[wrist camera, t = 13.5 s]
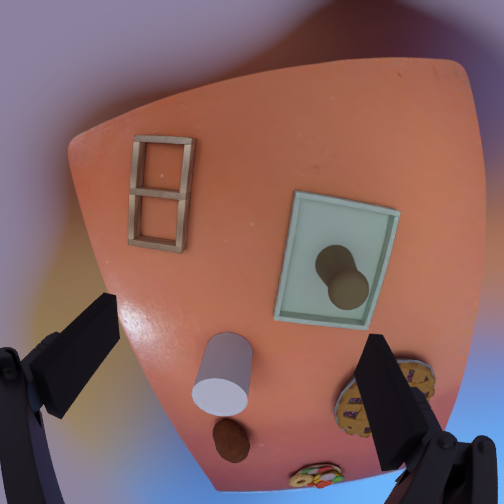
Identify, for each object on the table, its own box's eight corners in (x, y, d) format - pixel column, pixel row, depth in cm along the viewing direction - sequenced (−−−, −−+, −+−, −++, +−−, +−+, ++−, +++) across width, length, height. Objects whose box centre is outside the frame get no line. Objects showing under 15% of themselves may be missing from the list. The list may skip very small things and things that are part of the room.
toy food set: (282, 475, 64) (282, 485, 61) (317, 456, 60) (318, 466, 57) (317, 486, 66) (317, 494, 63) (351, 467, 62) (353, 476, 59)
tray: (294, 189, 42) (296, 191, 40) (394, 208, 42) (400, 211, 39) (273, 311, 48) (273, 320, 46) (363, 322, 48) (367, 330, 45)
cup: (201, 359, 52) (186, 405, 41) (214, 325, 50) (199, 370, 38) (243, 374, 53) (237, 421, 41) (259, 341, 50) (255, 389, 39)
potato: (240, 412, 56) (236, 441, 48) (258, 442, 59) (256, 469, 52) (207, 417, 57) (200, 445, 50) (228, 446, 60) (223, 472, 53)
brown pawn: (315, 284, 46) (326, 320, 35) (314, 246, 44) (326, 274, 33) (353, 280, 45) (373, 315, 35) (353, 243, 43) (377, 269, 33)
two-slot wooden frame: (141, 135, 41) (134, 134, 38) (196, 138, 41) (192, 137, 38) (134, 240, 46) (127, 245, 44) (186, 248, 46) (181, 253, 43)
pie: (338, 355, 50) (343, 373, 45) (441, 343, 49) (452, 357, 44) (326, 430, 57) (328, 446, 52) (414, 417, 55) (420, 431, 50)
